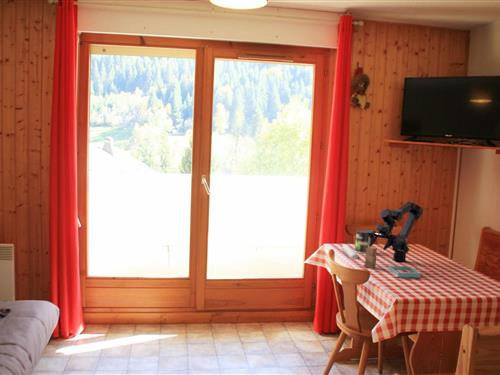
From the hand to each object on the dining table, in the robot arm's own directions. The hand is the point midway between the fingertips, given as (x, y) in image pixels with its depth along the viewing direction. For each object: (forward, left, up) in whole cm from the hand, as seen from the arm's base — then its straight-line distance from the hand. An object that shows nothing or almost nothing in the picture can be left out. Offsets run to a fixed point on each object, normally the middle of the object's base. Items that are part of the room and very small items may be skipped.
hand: (376, 248), depth 297 cm
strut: (+4, +3, -10) cm, 12 cm away
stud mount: (+4, +3, -12) cm, 13 cm away
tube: (+6, -27, -12) cm, 30 cm away
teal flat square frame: (-12, +14, -12) cm, 22 cm away
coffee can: (-7, -39, -12) cm, 41 cm away
